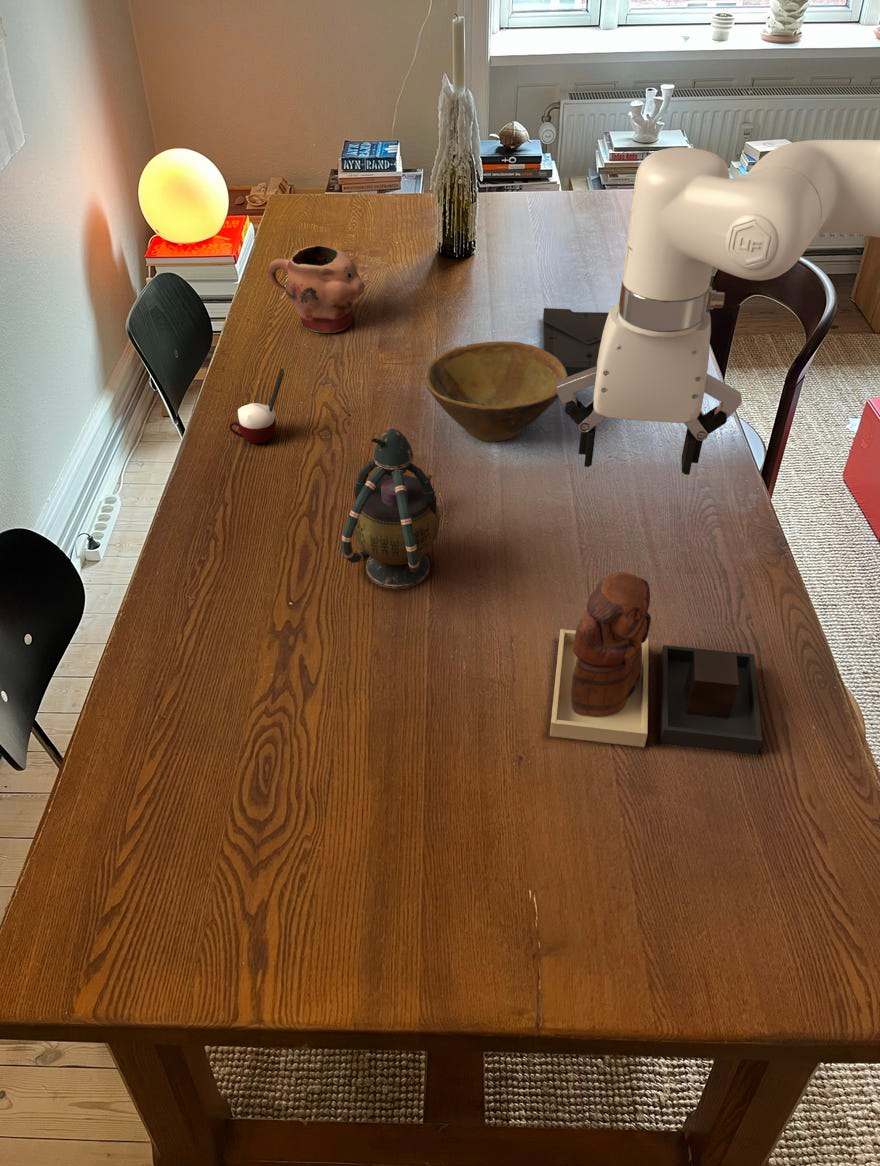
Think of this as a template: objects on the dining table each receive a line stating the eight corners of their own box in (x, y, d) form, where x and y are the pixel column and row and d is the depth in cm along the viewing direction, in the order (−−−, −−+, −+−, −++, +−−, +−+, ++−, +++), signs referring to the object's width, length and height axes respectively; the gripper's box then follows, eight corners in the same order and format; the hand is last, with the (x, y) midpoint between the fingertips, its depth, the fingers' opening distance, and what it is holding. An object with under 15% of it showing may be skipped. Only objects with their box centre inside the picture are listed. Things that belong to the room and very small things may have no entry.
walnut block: (726, 688, 124) (736, 654, 120) (728, 718, 121) (738, 684, 117) (685, 684, 125) (693, 650, 121) (686, 714, 122) (694, 680, 117)
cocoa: (229, 446, 167) (217, 382, 159) (241, 425, 171) (230, 362, 163) (284, 451, 165) (275, 386, 157) (294, 430, 170) (286, 366, 161)
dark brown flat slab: (542, 321, 194) (543, 376, 180) (543, 307, 192) (544, 362, 178) (625, 322, 193) (632, 378, 178) (626, 309, 191) (634, 364, 176)
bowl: (456, 381, 180) (456, 329, 173) (579, 407, 172) (584, 354, 165) (404, 444, 166) (403, 391, 159) (535, 475, 158) (540, 421, 151)
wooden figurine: (608, 731, 120) (627, 622, 107) (561, 710, 123) (574, 601, 110) (649, 671, 127) (672, 562, 114) (603, 652, 129) (620, 543, 117)
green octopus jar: (339, 602, 139) (325, 461, 122) (387, 496, 156) (381, 360, 139) (423, 615, 136) (420, 474, 120) (463, 506, 153) (466, 370, 137)
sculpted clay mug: (260, 332, 195) (250, 262, 185) (283, 303, 203) (275, 235, 194) (358, 343, 191) (353, 272, 181) (377, 314, 199) (373, 244, 189)
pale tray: (645, 651, 130) (648, 637, 128) (644, 747, 119) (647, 733, 117) (558, 642, 132) (560, 628, 130) (549, 736, 120) (551, 722, 119)
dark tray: (749, 667, 127) (754, 654, 126) (757, 754, 117) (762, 740, 116) (659, 658, 129) (662, 644, 127) (660, 742, 119) (663, 729, 117)
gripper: (759, 288, 90) (723, 448, 102) (566, 278, 93) (552, 436, 105) (766, 328, 85) (726, 492, 97) (561, 316, 88) (547, 477, 100)
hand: (636, 463), depth 101 cm, fingers open, 9 cm apart
